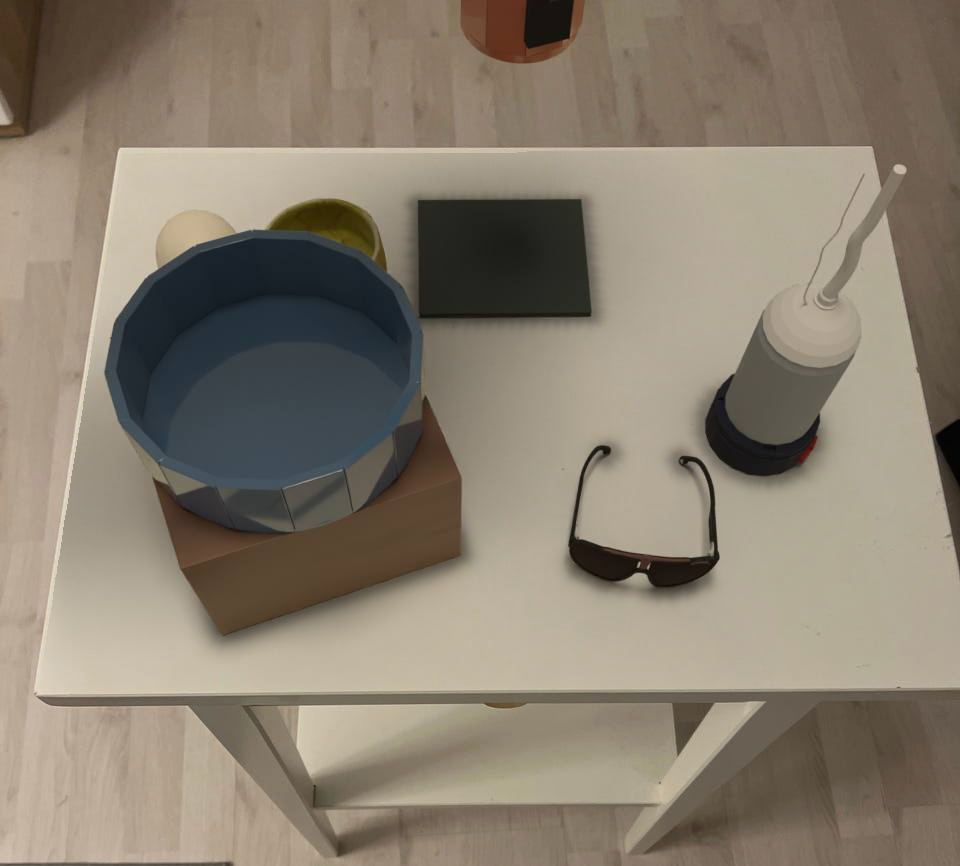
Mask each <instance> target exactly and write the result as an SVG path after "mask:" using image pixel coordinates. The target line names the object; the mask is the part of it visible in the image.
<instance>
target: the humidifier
mask: <svg viewBox="0 0 960 866" xmlns="http://www.w3.org/2000/svg"><path fill="white" fill-rule="evenodd" d="M907 171H908V170H907V167H906V166H905V165H903V164H900V163H898V164H897V163H896V164H895V165H894V166H893V167H892V169H891V171H890V173H889V175H888V177H887V178H886V180H885V182H884V184H883V186H882V187H881V189H880V191H879V193H878V194H877V196H876V198H875V199H874V201H873V203H872V205H871V207H870V208H869V210H868V212H867V213H866V215H865V217H864V218H863V219H862V221H861V222H860V223H859V225H858V226H857V227H856V228H855V230H853V232H852V233H851V234H850V236H849V238H848V241H847V243H846V247H845V252H844V257H843V260H842V262H841V264H840V266H839V268H838V269H837V271H836V272H835V273H834V275H833V276H832V278H831V279H830V280H829V281H828V283H823V282H815V281H813V280H814V278H815V276H816V274H817V272H818V270H819V267H820V265H821V262H822V257H823V254H824V251H825V248H826V247H827V246H828V245H829V244H830V242H831V241H832V240H833V239H834V238H835V237H836V236H837V235H838V234H839V232H840V230H841V229H842V226H843V222H844V218H845V216H846V215H847V212H848V210H849V208H850V206H851V204H852V202H853V200H854V198H855V196H856V194H857V192H858V189H859V188H860V186H861V183H862V182H863V179H864V177H865V175H866V172H863V174H862V176H861V178H860V180H859V182H858V183H857V185H856V188H855V190H854V192H853V193H852V196H851V198H850V200H849V202H848V204H847V207H846V208H845V210H844V212H843V215H842V217H841V220H840V223H839V226H838V228H837V230H836V232H835V233H834V234H833V235H832V236H831V237H830V238H829V239H828V241H827V242H826V243H825V244H824V245H823V246H822V248H821V251H820V254H819V259H818V262H817V265H816V267H815V270H814V271H813V273H812V276H811V278H810V280H809V282H804V283H803V282H802V283H797V284H793V285H791V286H789V287H787V288H784V289H783V290H781V291H780V292H778V293H777V294H775V296H773V297H772V298H771V300H770V301H769V302H768V303H767V304H766V307H765V308H764V309H763V310H762V312H761V314H760V317H759V319H758V320H757V323H756V326H755V328H754V330H753V332H752V335H751V337H750V339H749V342H748V344H747V346H746V348H745V351H744V353H743V355H742V357H741V360H740V362H739V364H738V366H737V368H736V370H735V372H734V373H732V374H730V376H728V378H727V379H726V380H725V381H724V382H723V383H722V384H721V386H720V387H719V388H718V389H717V391H716V392H715V396H714V398H713V400H712V402H711V405H710V407H709V410H708V412H707V415H706V417H705V430H704V431H705V435H706V439H707V441H708V444H709V446H710V448H711V449H712V450H713V452H714V453H715V455H716V456H717V457H718V458H719V460H721V461H722V462H724V463H725V464H726V465H728V466H729V467H730V468H732V469H734V470H735V471H738V472H741V473H744V474H747V475H751V476H759V477H768V476H774V475H780V474H782V473H784V472H786V471H788V470H790V469H792V468H794V467H795V466H796V465H797V464H798V463H799V464H803V462H804V461H805V460H806V459H807V458H808V457H809V456H810V455H811V453H812V451H813V450H814V448H815V446H816V443H817V441H818V437H819V436H818V435H817V432H818V430H819V426H820V423H821V411H822V409H823V408H824V406H825V404H827V401H828V400H829V398H830V396H831V395H832V394H833V392H834V390H835V389H836V387H837V385H838V384H839V382H840V380H841V379H842V377H843V375H845V372H846V371H847V369H848V368H849V366H850V364H851V363H852V361H853V359H854V357H855V355H856V352H857V350H858V348H859V345H860V344H861V340H862V322H861V319H862V318H861V316H860V313H859V312H858V309H857V307H856V305H855V304H854V302H853V301H852V300H851V298H849V297H848V296H847V295H848V294H846V293H844V292H843V291H842V290H843V289H844V287H846V285H847V284H848V282H849V281H850V279H851V278H852V276H853V274H854V273H855V271H856V269H857V268H858V264H859V262H860V258H861V253H862V248H863V245H864V242H865V241H866V240H867V239H868V237H870V235H871V234H872V233H873V232H874V230H875V228H877V226H878V224H879V223H880V221H881V220H882V218H883V216H884V215H885V212H886V210H887V208H888V206H889V204H890V203H891V201H892V199H893V197H894V195H895V194H896V192H897V190H898V189H899V187H900V185H901V183H902V181H903V180H904V177H905V175H906V173H907Z"/></svg>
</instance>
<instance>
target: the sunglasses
mask: <svg viewBox="0 0 960 866" xmlns="http://www.w3.org/2000/svg"><path fill="white" fill-rule="evenodd" d="M600 451H602V454H603V455H609V454H610V453H611V452H612V447H610V446H609V445H605V444H599V445H597V446H595V447H594V448H593V450H591V452H590V453H589V454H588V456H587V458H586V460H585V462H584V463H583V466H582V469H581V471H580V475H579V478H578V479H579V480H578V485H577V491H576V495H575V502H574V509H573V513H572V520H571V525H570V530H569V531H570V532H569V537H568V543H567V547H568V548H569V549H568V552H569V557H570V559H571V560H572V562H573V563H574V564H575V565H576V566H577V567H578V568H580V569H581V570H583V571H584V572H586V573H588V574H589V575H591V576H593V577H595V578H597V579H601V580H604V581H606V582H613V583H615V582H621V581H625V580H628V579H629V578H631V577H632V576H634V575H635V574H643V575H646V577H647V580H648V582H649V584H650V585H652V586H653V587H655V588H657V589H666V588H674V587H678V586H683V585H686V584H690V583H692V582H694V581H697V580H699V579H701V578H703V577H705V576H706V575H707V574H709V572H711V571H712V570H713V569H714V568H715V566H716V565H717V564H718V562H719V561H720V558H721V556H720V552H719V542H718V530H717V529H718V528H717V516H716V494H715V493H716V492H715V486H714V483H713V479H712V476H711V474H710V472H709V470H708V468H707V466H706V464H705V463H704V462H703V461H702V460H701V458H698V457H697V456H691V455H681V456H679V459H678V461H679V464H681V465H687V464H688V463H689V462H691V463H695V464H696V465H697V466H698V467H699V468H700V470H701V471H702V473H703V475H704V477H705V480H706V483H707V488H708V492H709V501H710V503H709V504H710V505H709V514H708V523H707V524H708V537H709V539H708V540H709V551H708V553H707V555H702V556H693V557H690V556H664V555H663V556H662V555H654V554H648V553H638V552H631V551H627V550H626V551H625V550H622V549H617V548H614V547H610V546H603V545H600V544H598V543H596V542H595V543H594V542H592V541H589V540H587V539H583V538H580V533H579V532H578V524H577V520H578V513H579V510H580V509H579V508H580V502H581V496H582V490H583V484H584V479H585V474H586V472H587V469H588V467H589V465H590V463H591V461H592V460H593V458H594V457H595V455H596V454H598V453H599V452H600Z"/></svg>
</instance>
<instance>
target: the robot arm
mask: <svg viewBox="0 0 960 866" xmlns="http://www.w3.org/2000/svg"><path fill="white" fill-rule="evenodd" d="M573 6H574V0H527V1H526V15H525V29H524V42H525V44H526V46H527V48H528V49H531V48H535V47H539V46H543V45H547V44H551V43H554V42H558V41H562V40H566V39H570V31H571V23H572V14H573Z"/></svg>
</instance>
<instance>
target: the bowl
mask: <svg viewBox="0 0 960 866" xmlns="http://www.w3.org/2000/svg"><path fill="white" fill-rule="evenodd" d="M236 233H237V234H233V235H230V236H226V237H222V238H219V239H215V240H211V241H207V242H204V243H200V244H196V245H195V246H192V247H191V248H189V249H188V250H186V251H185V252H183V253H182V254H180V255H179V256H177V257H176V258H174V259H173V260H171V261H170V262H168V263H167V264H165V265H164V266H162V267H161V268H159V269H158V268H157V269H155V271H153V272H151V273H149V274H148V275H147V276H146V277H145V278H144V279H143V281H142V282H141V283H140V285H139V286H138V287H137V289H136V290H135V292H134V293H133V295H132V296H131V297H130V299H129V300H128V302H127V303H126V304H125V305H124V307H123V308H122V310H121V311H120V312H119V313H118V314H117V317H116V318H115V319H114V322H113V325H112V331H111V334H110V337H111V340H109V346H108V350H107V357H106V360H105V365H104V370H103V373H104V377H105V381H106V385H107V388H108V392H109V395H110V398H111V401H112V404H113V407H114V408H113V409H114V412H115V414H116V418H117V421H118V422H117V423H119V425H120V427H121V429H122V430H123V432H124V434H125V436H126V437H127V439H128V441H129V443H130V444H131V446H132V448H133V449H134V451H135V453H136V455H137V456H138V459H139V460H140V462H141V463H142V465H143V467H144V469H145V470H146V471H147V472H148V473H149V475H150V476H151V477H152V476H153V477H154V478H155V479H156V481H157V482H158V483H159V484H160V485H161V487H162V488H163V489H164V490H165V491H166V492H167V493H168V494H169V495H170V496H171V497H172V498H173V499H174V500H175V501H176V502H177V503H178V504H179V505H180V506H182V507H183V508H186V509H188V510H189V511H191V512H192V513H194V514H196V515H198V516H200V517H202V518H204V519H206V520H208V521H210V522H213V523H216V524H219V525H222V526H225V527H228V528H232V529H237V530H242V531H246V532H256V533H289V532H296V531H303V530H309V529H312V528H316V527H320V526H324V525H327V524H329V523H332V522H335V521H337V520H340V519H342V518H345V517H346V516H348V515H350V514H352V513H354V512H356V511H358V510H360V509H361V508H363V507H364V506H366V505H367V504H368V503H370V502H371V501H373V500H374V499H376V498H377V497H378V496H379V495H380V494H381V493H382V492H383V491H385V490H386V489H387V488H388V487H389V486H390V485H391V484H392V483H393V481H394V480H395V479H396V478H397V477H398V476H399V474H400V473H401V472H402V471H403V469H404V467H405V466H406V464H407V463H408V461H409V460H410V458H411V456H412V454H413V452H414V450H415V447H416V445H417V443H418V440H419V438H420V436H421V434H422V432H423V427H424V412H425V394H426V385H427V383H426V382H427V381H426V380H427V379H426V361H425V360H426V358H425V357H426V356H425V337H424V336H425V335H424V331H423V329H422V326H421V324H420V322H419V319H418V317H417V315H416V312H415V310H414V309H413V306H412V304H411V302H410V299H409V296H408V294H407V292H406V291H405V288H404V286H403V285H402V284H401V283H400V282H398V280H396V279H395V277H393V276H392V275H391V274H389V272H388V271H387V272H386V271H385V270H384V269H383V268H381V267H380V266H379V265H378V264H377V263H376V262H375V261H374V260H372V259H371V258H370V257H369V256H368V255H367V254H366V253H364V252H362V251H361V250H358V249H355V248H353V247H350V246H347V245H345V244H342V243H339V242H337V241H334V240H331V239H329V238H326V237H323V236H321V235H318V234H315V233H313V232H311V233H310V232H308V231H281V230H265V229H256V228H255V229H248V230H244V231H241V232H236Z"/></svg>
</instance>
